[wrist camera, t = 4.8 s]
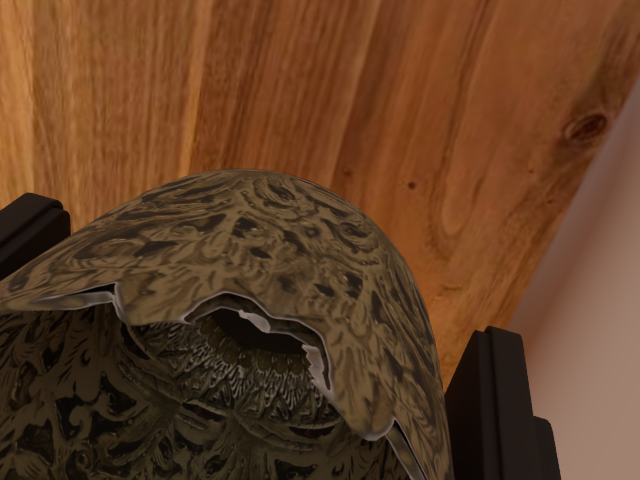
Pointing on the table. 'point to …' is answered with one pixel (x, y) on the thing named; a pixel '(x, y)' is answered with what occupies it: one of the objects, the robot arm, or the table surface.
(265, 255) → the brown jagged-rimmed vessel
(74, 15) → the table surface
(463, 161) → the table surface
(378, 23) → the table surface
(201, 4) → the table surface
